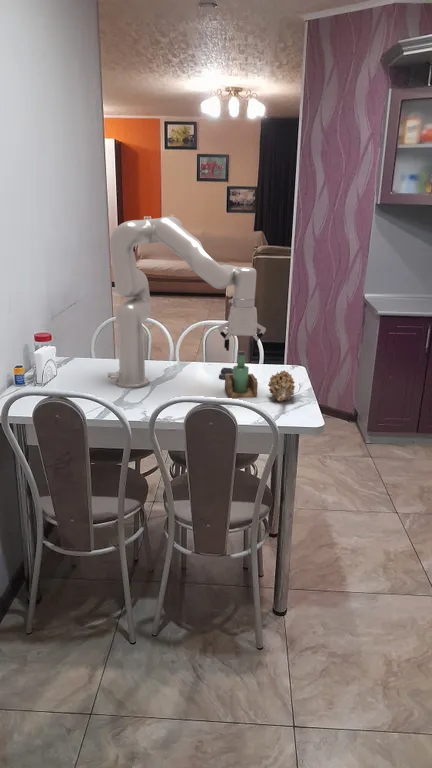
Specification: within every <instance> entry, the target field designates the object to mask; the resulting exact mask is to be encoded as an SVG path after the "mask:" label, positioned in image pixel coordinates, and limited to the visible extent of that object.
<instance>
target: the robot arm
mask: <svg viewBox="0 0 432 768" xmlns="http://www.w3.org/2000/svg"><path fill="white" fill-rule="evenodd" d="M153 243H154V244H155V243H162V244H163V245H164V246H165V247H167V248H168V249H170V250H171V251H172V252H173V253H174V254H176V255H177V256H178V258H179V257H180V259H182V260H183V261H184V262H185V263H186V265H187V266H189V267H190V269H191V270H192V271H193V272H194V273H195V274H196V275H198V276H199V278H201V279H202V280H203V281H205V282H206V283H207V284H209V285H210V286H211V287H212V288H215V289H217V290H224V289H226V288H228V287H231V286H233V296H232V298H231V299H228V304H231V306H230V310H229V313H228V319H227V320H228V321H227V322H225V323H223V324H220V325H218V326H217V330H218V332H219V333H220V335H221V336H222V338H223V339H224V342H223V344H224V345H223V347H224V349H225V350H226V352H229V350H230V338H231V336H234V337H235V336H236V337H253V339H252V344H251V350H252V352H254V353H255V352H256V350H257V349H258V342H259V340H260V339H261V338H262V337H264V334H265V332H267V328H266V327H264V326H263V325H260V324H259V323H258V312H257V311H258V310H257V307H255V302H256V300H255V299H256V288H257V287H256V286H257V270H256V268H254V267H250V266H235V265H232V264H219V263H218V262H217V261H216V260H214V259H213V258H212V257H211V256H210V255H209V254H208V253H207V252H206V251H205V249H204V247H203V245H202V243H201V241H200V240H199V239H198V238H197V237H195V236H194V235H193V234H191V232H189V231H188V230H186V229H185V228H184V227H183V223H182V222H181V220H180V219H179V218H178V217H175V216H161V217H159V218H149V219H133V220H127V221H124V222H122V223H120V224H119V225H118V226H117V227H116V228H115V229H114V230H113V231H112V232H111V234H110V239H109V251H110V257H111V263H112V264H111V265H112V273H113V282H114V288H115V291H116V293H117V294H118V295H119V296H120V297H123V298H125V299H126V301H123V302H122V303H121V304H120V305H119V306H118V308H117V309H116V312H115V321H116V326H117V327H116V328H117V336H118V338H117V342H118V362H119V363H118V365H119V370H118V371H116V372H107V378H108V379H109V378H110V379H111V380H114V379H115V384H116V386H119V387H121V388H127V389H128V388H129V389H130V388H131V389H132V388H133V389H134V388H141V387H145V386H148V385H149V383H150V379H149V378H148V377H147V376H146V371H145V370H146V368H145V366H146V365H145V363H146V362H145V356H146V355H145V333H144V329H143V328H144V327H143V322H145V321H147V320H148V318H149V317H150V315H151V312H152V305H151V304H152V303H151V296H150V295H151V294H150V286H149V285H150V284H149V281H148V277H147V275H146V274H145V273H144V272H143V271H142V270H140V269H139V268H137V258H136V255H135V252H134V247H135V246H139V245H145V244H153ZM225 328H227V332H226V333H225V332H224V331H223V330H224V329H225ZM258 330H260V331H259V332H258Z"/></svg>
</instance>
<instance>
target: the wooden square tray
mask: <svg viewBox="0 0 432 768" xmlns="http://www.w3.org/2000/svg"><path fill="white" fill-rule="evenodd" d="M255 378H256V377H255V375H254V374H253V373H248V392H246V393H235V392H233V391H232V389H233V374H225V380H224V390H225V393H226V395H227V398H228V399H233V398H234V399H235V398H236V399H238V398H240V399H242V398H245V399H246V398H247V399H248V398H249V399H250V398H258V379H257V380H256V379H255Z"/></svg>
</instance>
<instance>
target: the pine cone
mask: <svg viewBox="0 0 432 768" xmlns="http://www.w3.org/2000/svg"><path fill="white" fill-rule="evenodd" d="M269 379H270V380H269V381H268V383H267V386H268V387H269V388H268V391H269V394H271V395H272V398H274V399H277V402H282V401H288V400H291V397H292V396H293V395H294V394H295V391H294V390H295V388H296V386H295V385H294V384H295V381H294V378H293V376H292V374H291V373H290V374H289V372H288V371H286V370H281V371H280V372H278V371H277V372H276V373H275V375H274V374H271V376H270V377H269Z"/></svg>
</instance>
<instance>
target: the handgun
mask: <svg viewBox="0 0 432 768" xmlns="http://www.w3.org/2000/svg"><path fill="white" fill-rule="evenodd" d="M225 374H233V367H222V368H221V369H220V373H219V375H218V379H220V380H224V381H225ZM255 379H256V380H257V381H258V378H256V377H255Z"/></svg>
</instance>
